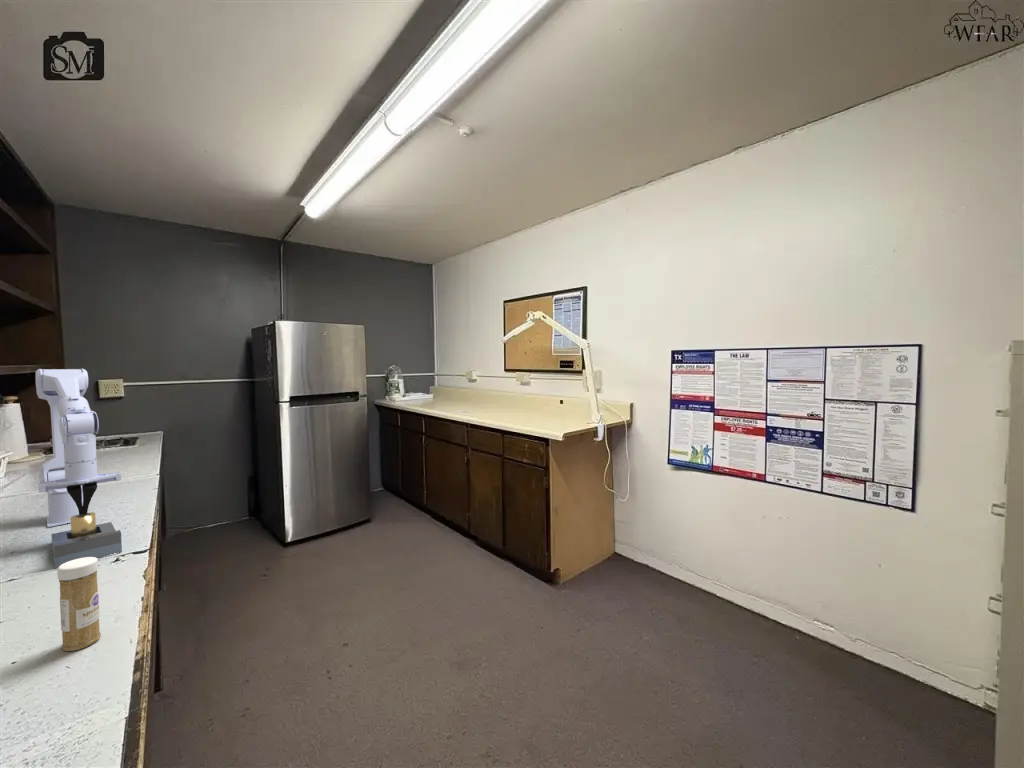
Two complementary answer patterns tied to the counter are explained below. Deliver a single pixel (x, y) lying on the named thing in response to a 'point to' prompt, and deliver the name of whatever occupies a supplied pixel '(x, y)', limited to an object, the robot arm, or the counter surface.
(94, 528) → the bushing
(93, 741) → the counter surface
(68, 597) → the sprinkles bottle
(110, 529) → the plate
